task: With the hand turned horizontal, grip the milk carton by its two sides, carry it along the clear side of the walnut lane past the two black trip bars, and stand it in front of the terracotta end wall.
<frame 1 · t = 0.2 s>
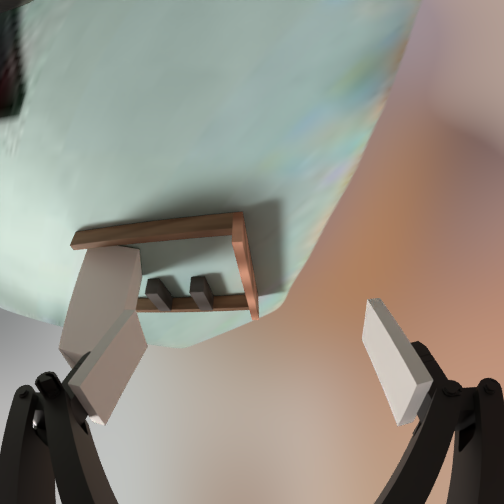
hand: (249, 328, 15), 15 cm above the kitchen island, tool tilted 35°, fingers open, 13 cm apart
milk carton: (118, 258, 35), on the kitchen island
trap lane: (169, 268, 37), on the kitchen island
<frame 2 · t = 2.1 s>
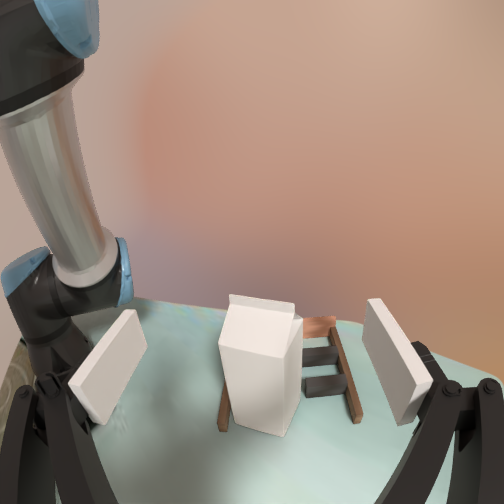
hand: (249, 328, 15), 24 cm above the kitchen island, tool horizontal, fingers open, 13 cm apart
milk carton: (268, 413, 34), on the kitchen island
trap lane: (287, 378, 40), on the kitchen island
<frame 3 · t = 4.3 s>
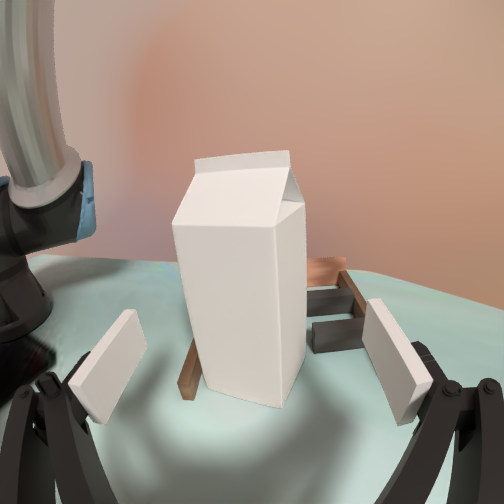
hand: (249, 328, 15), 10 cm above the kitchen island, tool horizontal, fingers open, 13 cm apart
milk carton: (258, 375, 24), on the kitchen island
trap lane: (286, 330, 30), on the kitchen island
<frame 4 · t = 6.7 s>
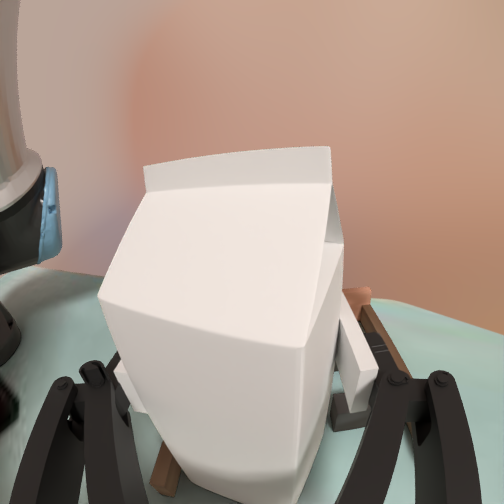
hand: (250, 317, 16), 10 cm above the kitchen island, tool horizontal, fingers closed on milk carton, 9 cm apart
milk carton: (259, 465, 15), on the kitchen island, touching gripper
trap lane: (297, 394, 21), on the kitchen island
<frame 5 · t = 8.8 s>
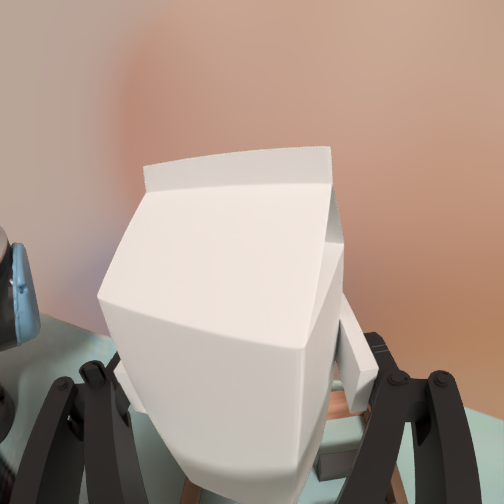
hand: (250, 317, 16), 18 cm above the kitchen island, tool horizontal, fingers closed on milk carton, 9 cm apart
milk carton: (259, 465, 15), point 8 cm above the kitchen island, touching gripper
when the fingers open (11 cm above the kitchen island, at t = 11.3 s): milk carton drops 1 cm, on the kitchen island.
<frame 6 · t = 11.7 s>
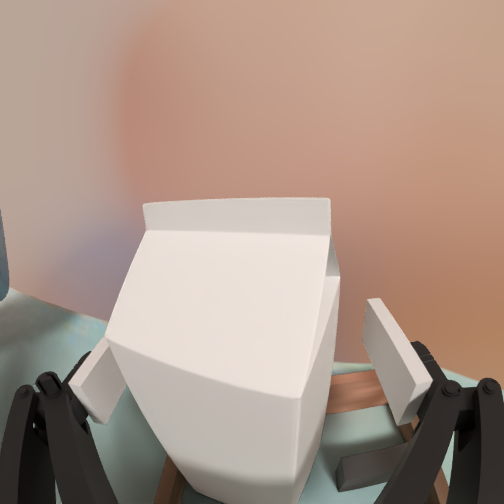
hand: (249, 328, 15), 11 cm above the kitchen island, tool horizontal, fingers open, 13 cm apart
milk carton: (259, 473, 15), on the kitchen island
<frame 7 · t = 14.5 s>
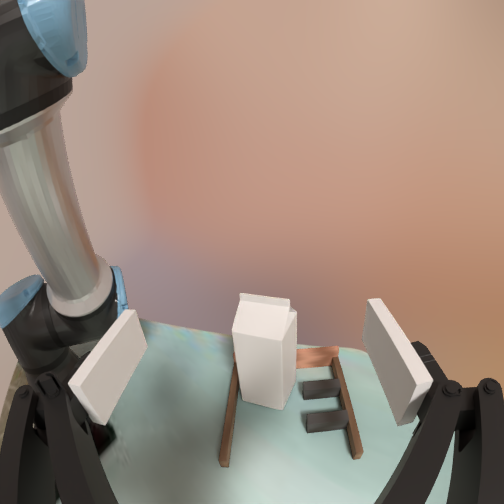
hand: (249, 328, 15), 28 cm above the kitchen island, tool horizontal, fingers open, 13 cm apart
milk carton: (269, 392, 43), on the kitchen island
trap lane: (289, 412, 38), on the kitchen island
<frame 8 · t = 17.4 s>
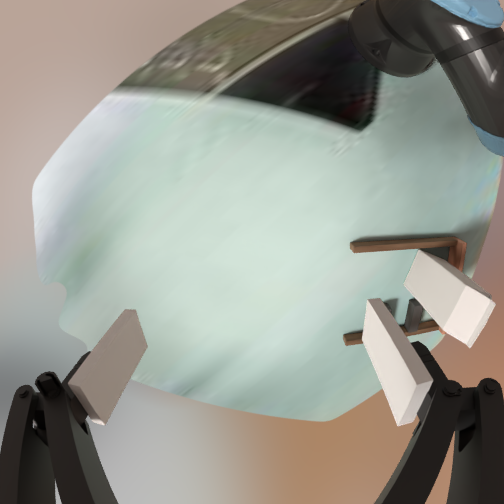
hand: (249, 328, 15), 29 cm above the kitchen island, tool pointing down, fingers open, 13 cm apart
milk carton: (423, 271, 43), on the kitchen island
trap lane: (400, 289, 45), on the kitchen island
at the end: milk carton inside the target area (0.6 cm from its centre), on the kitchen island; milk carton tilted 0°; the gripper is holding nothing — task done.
